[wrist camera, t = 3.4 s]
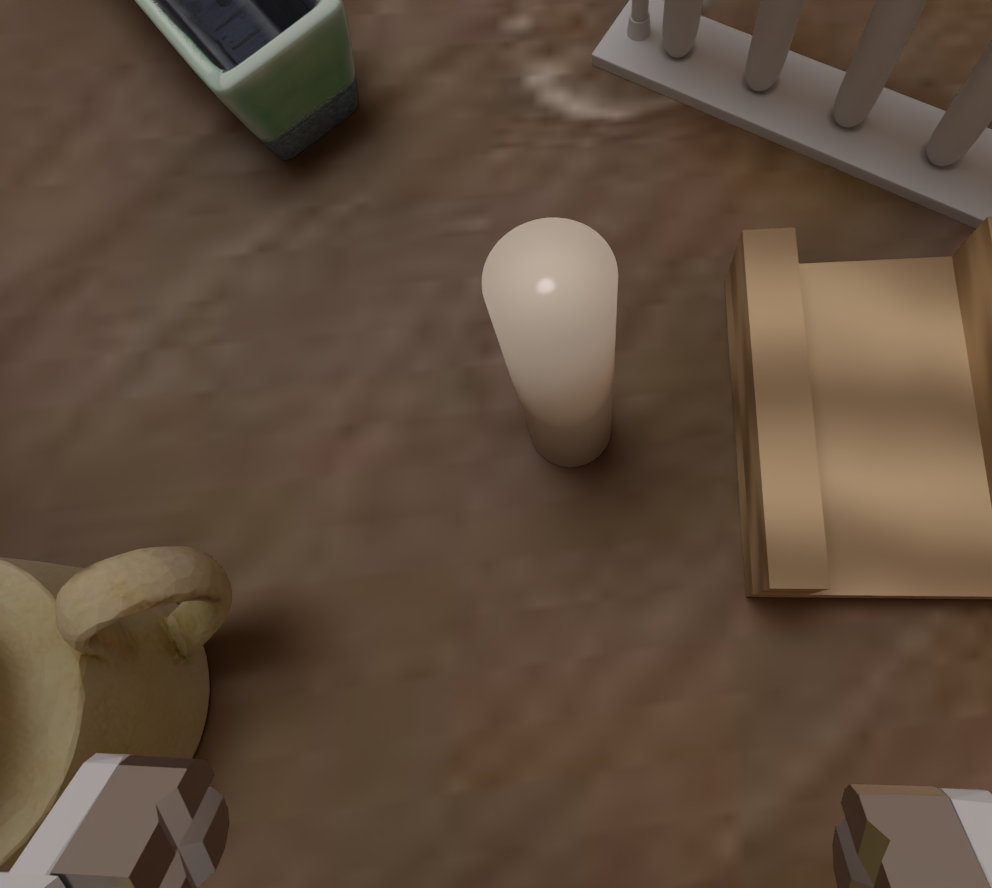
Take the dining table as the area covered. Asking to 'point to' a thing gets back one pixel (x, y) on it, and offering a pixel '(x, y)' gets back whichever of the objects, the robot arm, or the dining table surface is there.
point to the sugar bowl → (99, 670)
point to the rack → (862, 420)
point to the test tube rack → (818, 96)
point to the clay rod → (557, 332)
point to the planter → (268, 62)
